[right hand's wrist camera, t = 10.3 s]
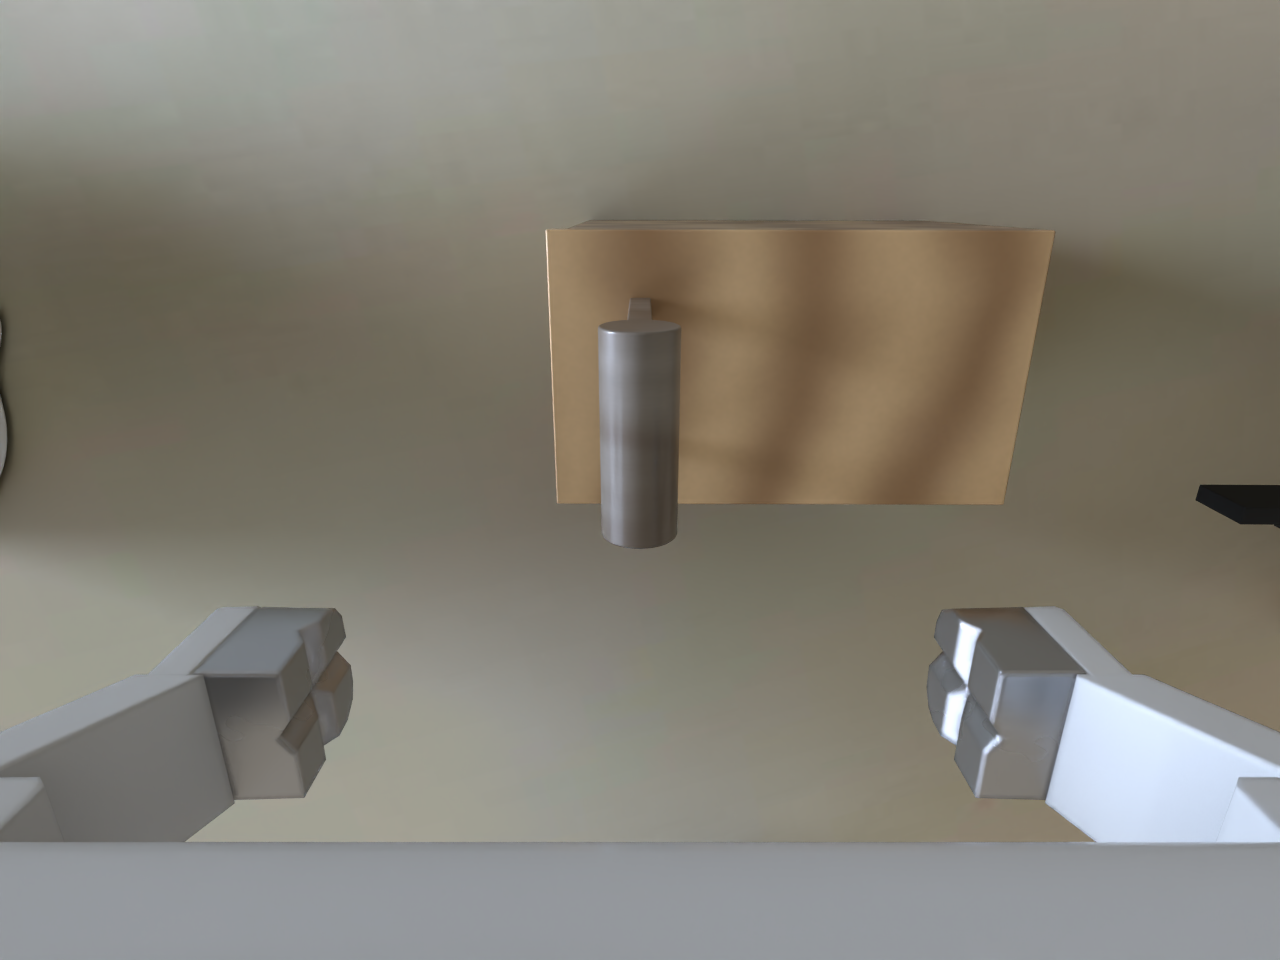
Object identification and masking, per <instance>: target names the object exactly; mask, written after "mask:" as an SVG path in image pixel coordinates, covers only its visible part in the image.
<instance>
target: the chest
mask: <svg viewBox="0 0 1280 960" xmlns="http://www.w3.org/2000/svg"><path fill="white" fill-rule="evenodd" d="M568 229H999V230H1039V229H1027V228H1014V227H1000V226H987V225H974V224H960V223H947V222H934V221H726V220H589V221H586V222H583V223H581V224H578V225H576V226H573V227H570V228H568Z"/></svg>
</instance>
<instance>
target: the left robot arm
mask: <svg viewBox="0 0 1280 960" xmlns="http://www.w3.org/2000/svg"><path fill="white" fill-rule="evenodd" d="M1196 501H1198V502H1200V503H1202V504H1204V505H1206V506H1208V507H1209V508H1211V509H1213V510H1215V511H1217V512H1219V513H1221V514H1222V515H1224V516H1226V517H1228V518H1230V519H1232V520H1234V521H1235V522H1237V523H1239V524H1274V526H1276V527H1278V528H1280V485H1200V487H1199V490H1198V494H1197V497H1196Z"/></svg>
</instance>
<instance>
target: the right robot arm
mask: <svg viewBox="0 0 1280 960" xmlns="http://www.w3.org/2000/svg"><path fill="white" fill-rule="evenodd" d="M1 336H2V327H1V321H0V345H1ZM6 452H7V425H6V418H5V413H4V408H3V404H2V400H1V396H0V476H1V473H2V470H3V467H4V463H5V459H6ZM345 638H346V634H345V629H344V625H343V620H342V616H341V614H340V613H339V612H338V611H337V610H336V609H335V608H289V607H262V608H261V607H258V606H251V607H224V608H218V609H216V610H215V611H214V612H213V613H212V614H211V615H210V616H209V617H208V618H207V619H206V620H205V621H204V622H203V623H201V624H200V625H199V626H198V627H197V628H196V629H195V630H194V631H193V632H192V633H191V634H190V635H189V636H188V637H187V638H186V639H185V640H184V641H183V642H181V643H180V644H179V645H178V646H177V647H176V648H175V649H174V650H173V651H172V652H171V653H170V654H169V655H168V656H167V657H166V658H165V659H164V660H163V661H162V662H160V663H159V664H158V665H157V666H156V667H155V668H154V669H153V670H152V671H151V672H150V673H149V674H148V675H133V676H131V677H129V678H126V679H124V680H121V681H119V682H117V683H114V684H112V685H110V686H107V687H105V688H103V689H100V690H98V691H96V692H93V693H91V694H89V695H86V696H84V697H82V698H79V699H77V700H75V701H72V702H70V703H67V704H65V705H63V706H60V707H58V708H56V709H53V710H51V711H49V712H46V713H44V714H42V715H39V716H37V717H35V718H32V719H30V720H28V721H25V722H23V723H21V724H18V725H16V726H13V727H11V728H9V729H6V730H4V731H2V732H0V960H1280V732H1278V731H1276V730H1273V729H1271V728H1269V727H1266V726H1264V725H1262V724H1259V723H1257V722H1254V721H1252V720H1250V719H1247V718H1245V717H1243V716H1240V715H1238V714H1236V713H1233V712H1231V711H1229V710H1226V709H1224V708H1222V707H1219V706H1217V705H1215V704H1212V703H1210V702H1208V701H1205V700H1203V699H1201V698H1198V697H1196V696H1194V695H1191V694H1189V693H1187V692H1184V691H1182V690H1180V689H1177V688H1175V687H1173V686H1170V685H1168V684H1166V683H1163V682H1161V681H1158V680H1156V679H1154V678H1151V677H1149V676H1147V675H1132V674H1131V673H1130V672H1129V671H1128V670H1127V669H1126V668H1125V667H1124V666H1123V665H1122V664H1121V663H1120V662H1119V661H1118V660H1116V659H1115V658H1114V657H1113V656H1112V655H1111V654H1110V653H1109V652H1108V651H1107V650H1106V649H1105V648H1104V647H1103V646H1102V645H1101V644H1100V643H1099V642H1098V641H1097V640H1096V639H1094V638H1093V637H1092V636H1091V635H1090V634H1089V633H1088V632H1087V631H1086V630H1085V629H1084V628H1083V627H1082V626H1081V625H1080V624H1079V623H1078V622H1077V621H1076V620H1075V619H1073V618H1072V617H1071V616H1070V615H1069V614H1068V613H1067V612H1066V611H1065V610H1064V609H1061V608H1058V607H1055V606H1045V607H1011V608H971V609H946V610H942V611H941V613H940V615H939V617H938V619H937V623H936V628H935V634H934V638H935V639H936V641H937V643H938V644H939V646H940V647H941V649H942V650H943V652H942V653H941V654H940V655H939V656H938V657H937V658H936V659H935V660H934V661H933V662H932V663H931V664H930V665H929V672H928V680H927V695H928V706H929V710H930V713H931V716H932V720H933V722H934V724H935V726H936V728H937V730H938V732H939V734H940V735H941V736H942V737H944V738H945V739H947V740H949V741H950V742H952V743H953V744H955V745H956V751H955V757H954V760H955V762H956V764H957V766H958V767H959V769H960V771H961V773H962V774H963V776H964V778H965V780H966V781H967V783H968V785H969V787H970V788H971V790H972V792H973V793H974V795H975V797H976V798H998V799H1034V800H1046V802H1045V803H1046V804H1047V805H1049V806H1050V807H1051V808H1053V809H1054V810H1055V811H1056V812H1058V813H1059V814H1060V815H1062V816H1063V817H1064V818H1066V819H1067V820H1068V821H1069V822H1071V823H1072V824H1073V825H1075V826H1076V827H1077V828H1079V829H1080V830H1081V831H1082V832H1084V833H1085V834H1086V835H1088V836H1089V837H1090V838H1092V839H1093V840H1094V841H1095V842H185V841H186V840H187V839H189V838H190V837H191V836H193V835H194V834H195V833H196V832H198V831H199V830H200V829H202V828H203V827H204V826H206V825H207V824H208V823H210V822H211V821H212V820H213V819H215V818H216V817H217V816H219V815H220V814H221V813H223V812H224V811H225V810H226V809H228V808H229V807H230V806H232V805H233V804H234V800H245V799H281V798H304V797H305V795H306V794H307V792H308V790H309V788H310V787H311V785H312V783H313V781H314V780H315V778H316V776H317V774H318V773H319V771H320V769H321V767H322V766H323V764H324V762H325V760H326V757H325V751H324V745H325V744H327V743H328V742H330V741H332V740H333V739H335V738H336V737H338V736H339V735H340V734H341V732H342V730H343V728H344V726H345V724H346V722H347V720H348V717H349V712H350V708H351V704H352V700H353V678H352V671H351V665H350V664H349V663H348V662H347V661H346V660H345V659H344V658H343V657H342V656H341V655H340V654H339V653H338V652H337V650H338V649H339V647H340V646H341V644H342V643H343V641H344V640H345Z"/></svg>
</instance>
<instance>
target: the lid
mask: <svg viewBox="0 0 1280 960" xmlns="http://www.w3.org/2000/svg"><path fill="white" fill-rule="evenodd" d="M1054 236H1055V231H1054V230H999V229H547V230H546V249H547V274H548V298H549V322H550V347H551V371H552V395H553V420H554V444H555V469H556V493H557V503H574V504H601V528H602V535H603V537H604V538H605V539H606V540H607V541H608V542H610V543H612V544H614V545H617V546H621V547H626V548H634V549H645V548H653V547H658V546H662V545H665V544H667V543H669V542H671V541H672V540H673V539H674V538H675V537H676V535H677V517H678V504H950V505H1003V504H1004V499H1005V493H1006V488H1007V483H1008V478H1009V472H1010V467H1011V462H1012V457H1013V451H1014V446H1015V441H1016V436H1017V430H1018V425H1019V420H1020V415H1021V409H1022V404H1023V399H1024V394H1025V388H1026V383H1027V378H1028V373H1029V367H1030V362H1031V357H1032V352H1033V346H1034V341H1035V336H1036V331H1037V325H1038V320H1039V315H1040V310H1041V304H1042V299H1043V294H1044V289H1045V283H1046V278H1047V273H1048V268H1049V262H1050V257H1051V252H1052V247H1053V241H1054Z"/></svg>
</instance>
